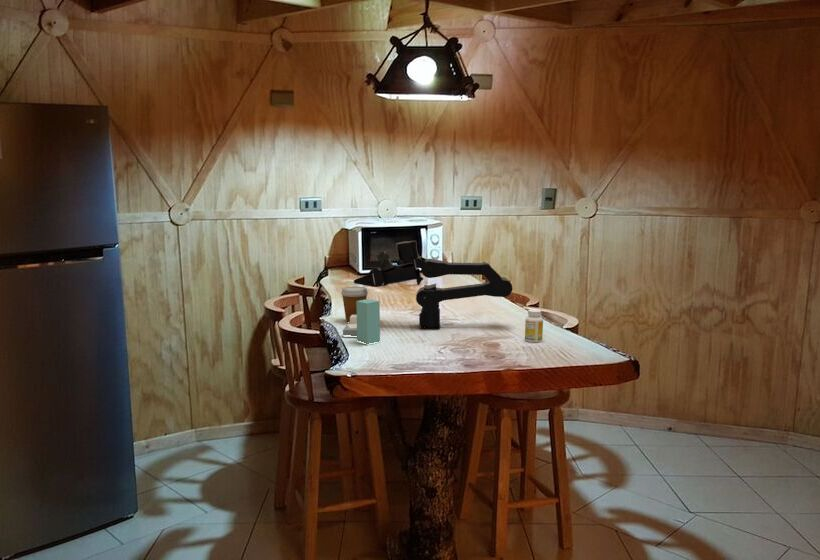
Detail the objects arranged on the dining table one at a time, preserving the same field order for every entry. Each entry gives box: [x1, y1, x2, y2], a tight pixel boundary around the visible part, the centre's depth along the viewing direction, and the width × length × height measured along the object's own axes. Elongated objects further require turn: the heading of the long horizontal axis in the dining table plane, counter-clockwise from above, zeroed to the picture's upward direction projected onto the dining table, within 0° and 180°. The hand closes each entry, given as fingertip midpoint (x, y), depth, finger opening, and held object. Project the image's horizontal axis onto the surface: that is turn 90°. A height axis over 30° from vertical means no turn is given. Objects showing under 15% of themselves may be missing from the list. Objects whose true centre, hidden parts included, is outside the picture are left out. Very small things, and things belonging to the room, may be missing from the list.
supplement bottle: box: [524, 308, 544, 343], centre depth 193 cm, size 5×5×10 cm
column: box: [356, 298, 381, 344], centre depth 192 cm, size 5×5×13 cm
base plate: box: [342, 315, 357, 336], centre depth 205 cm, size 8×14×4 cm, turn 175°
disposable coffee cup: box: [340, 285, 369, 322], centre depth 219 cm, size 10×10×12 cm
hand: (356, 281), depth 210 cm, fingers open, 9 cm apart
